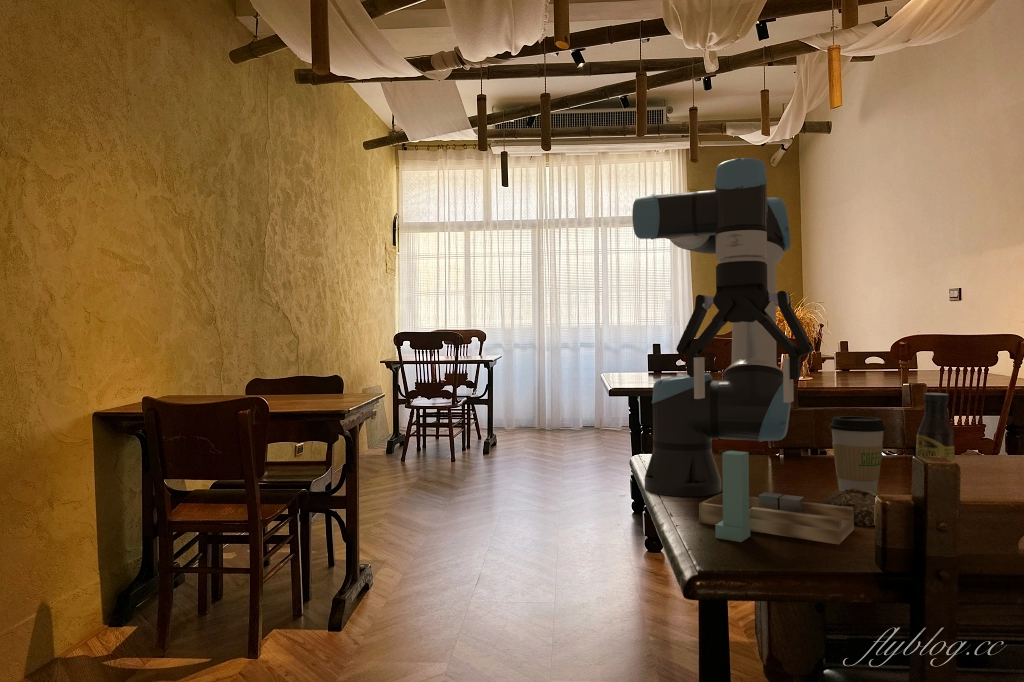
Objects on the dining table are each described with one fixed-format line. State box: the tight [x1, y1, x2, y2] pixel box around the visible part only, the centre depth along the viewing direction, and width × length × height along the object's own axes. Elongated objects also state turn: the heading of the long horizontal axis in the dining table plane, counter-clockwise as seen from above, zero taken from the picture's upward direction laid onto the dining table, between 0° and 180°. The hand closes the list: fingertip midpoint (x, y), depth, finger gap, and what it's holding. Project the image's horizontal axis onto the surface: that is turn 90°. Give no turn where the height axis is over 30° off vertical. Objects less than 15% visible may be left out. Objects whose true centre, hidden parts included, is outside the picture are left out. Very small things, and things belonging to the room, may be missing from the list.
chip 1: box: [758, 491, 784, 510], centre depth 114 cm, size 3×3×3 cm
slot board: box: [698, 492, 855, 545], centre depth 114 cm, size 22×10×4 cm, turn 53°
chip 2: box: [780, 494, 805, 514], centre depth 112 cm, size 3×3×3 cm
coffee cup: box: [828, 415, 887, 494], centre depth 134 cm, size 10×10×15 cm
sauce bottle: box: [915, 392, 956, 462], centre depth 133 cm, size 6×6×20 cm
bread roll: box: [820, 488, 880, 528], centre depth 120 cm, size 13×12×5 cm
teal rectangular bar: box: [714, 450, 751, 543], centre depth 108 cm, size 4×4×13 cm
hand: (742, 400), depth 108 cm, fingers open, 13 cm apart
